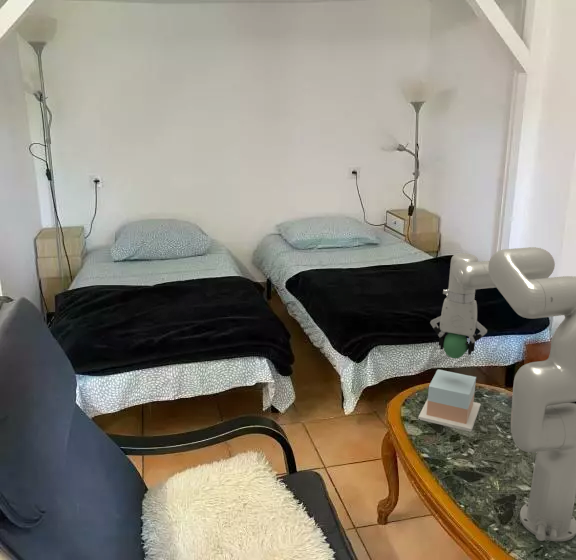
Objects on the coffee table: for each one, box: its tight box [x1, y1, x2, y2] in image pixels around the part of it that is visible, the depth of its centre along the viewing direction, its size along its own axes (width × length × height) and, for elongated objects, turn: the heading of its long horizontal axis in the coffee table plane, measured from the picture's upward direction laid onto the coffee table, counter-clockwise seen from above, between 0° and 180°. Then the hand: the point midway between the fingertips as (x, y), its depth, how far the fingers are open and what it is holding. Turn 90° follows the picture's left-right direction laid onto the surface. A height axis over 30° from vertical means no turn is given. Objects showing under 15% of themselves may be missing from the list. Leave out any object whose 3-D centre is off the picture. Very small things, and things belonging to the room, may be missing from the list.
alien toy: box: [443, 333, 469, 359], centre depth 180 cm, size 7×8×10 cm
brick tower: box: [418, 369, 482, 433], centre depth 187 cm, size 16×16×11 cm
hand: (455, 350), depth 181 cm, fingers closed on alien toy, 7 cm apart
